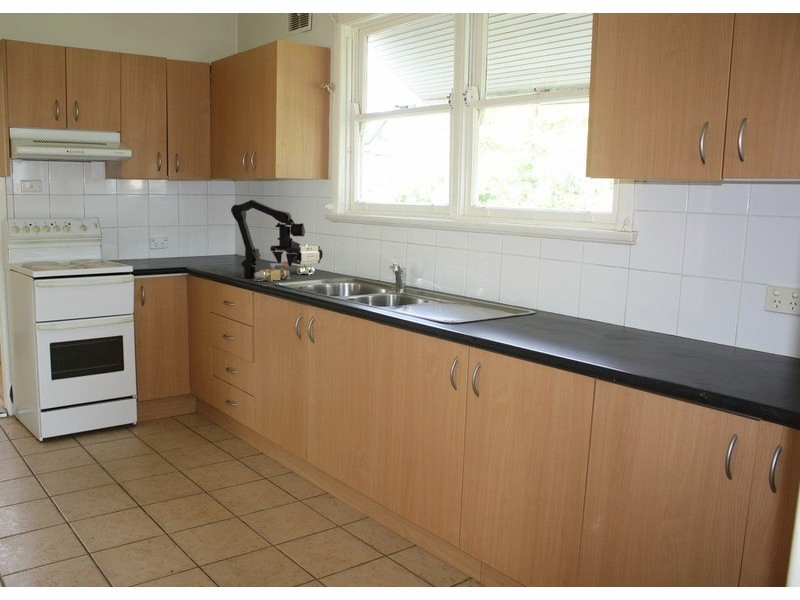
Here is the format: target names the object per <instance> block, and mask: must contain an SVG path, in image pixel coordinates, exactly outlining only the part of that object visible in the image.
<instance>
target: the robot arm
mask: <svg viewBox="0 0 800 600" xmlns="http://www.w3.org/2000/svg"><path fill="white" fill-rule="evenodd" d="M252 209H254V210H256V211H259V212H261V213H263V214H265V215H268V216H271V217H272V218H273V219H275V220H276V221H278V222H277V224H276V225H275V226H274V227H275V228H278V237H277V240H278V241H279V244H276V245H274V244H273V245H271V246H270V252H271V253H272V254H273V256H274V258H275V259H276V261H277V262H276V263H282V255H283V253H284V252H286V253H285V256H286V260H287V261H286V262H288V265H289V266H290V267H292V264H293V263H292V262H293V259H294V257H295V256H296V255H297V254H298V253H299V246H301V243H298V242H296V241H294V240H293V238H292V237H291V235H292V236H293V237H304V236H305V235H306V230H305V226H304V223H295V221H294V220H293V219H292V215H291V213H290V212H289V211H285V210H280V209H275V208H273V207H272V206H271V207H270V206H268V205H267V204H264V203H262V202H259V201H257V200H255V199H250V200H248V201H246V202H243V203H241V204H239V203H238V204H234V205H232V207H231V208H230V212H231V215H232V217H233V218H234V219H235V221H236V222H237V225H238V229H239V233H240V235H241V238H242V243H243V245H244V258H245V259H244V260H243V261H241V263H240V264H241V266H242V269H243V270H242V271H243V275H242V276H240V277H241V278H242V279H247V280H248V279H249V278H250V279H255V278H254V273H255V272H256V266H257V264H258V263H259V262H260V259H261V254H260V250H259V248H255V246H254V242H253V240H252V237H251V232H250V229H249V227H248V223H247V212H248V211H250V210H252Z"/></svg>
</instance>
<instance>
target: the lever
mask: <svg viewBox="0 0 800 600" xmlns="http://www.w3.org/2000/svg"><path fill="white" fill-rule="evenodd" d="M268 264H269V265H268V266H269V269H270V270H275V269H276V268H275V267H276V266H282V267H283V268H285V267H286V268H288V267H291V266H289V265H288V261H282V262H281V263H278V262H270V263H268Z"/></svg>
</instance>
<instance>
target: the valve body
mask: <svg viewBox="0 0 800 600" xmlns="http://www.w3.org/2000/svg"><path fill="white" fill-rule="evenodd" d="M290 274H291V273H290V270H289V269H285V267H282V268H279V269H276V268H275V270H270V269H260V270H258V271H257V272H256V271H255V273H254V278H253V282H254V281H262V282H263V281H265V280H270V281H269V282H274V281H273V280H280V281H281V280H285V279H289V280H291V276H290Z"/></svg>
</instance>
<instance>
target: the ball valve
mask: <svg viewBox="0 0 800 600" xmlns="http://www.w3.org/2000/svg"><path fill="white" fill-rule="evenodd" d="M323 254H324V253H323V249H321V246H320V245H314V244H312V245H311V244H309V245H308V242H304V245H300V246H299V253H298V254H297V255H296V256H295V257H294V259H293V262H292V264H294V265H295V264H296V265H300V267H297V270H296V272H297V274H298V275H300V274H308V275H307V276H311V275H310V274H312V275H313V274H314V273H315V267H313V266H312V264H313V265H314V264H321V260H322V258H323Z"/></svg>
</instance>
